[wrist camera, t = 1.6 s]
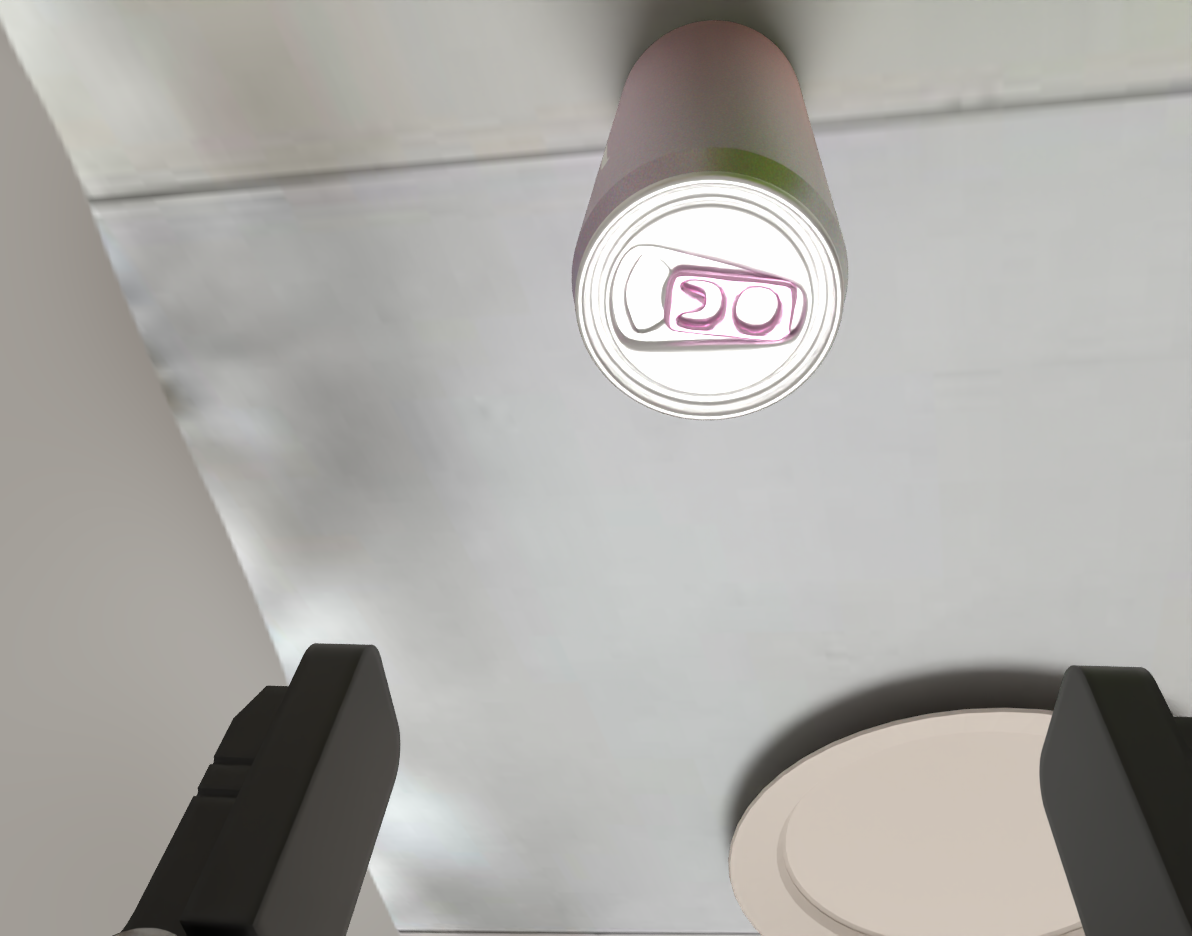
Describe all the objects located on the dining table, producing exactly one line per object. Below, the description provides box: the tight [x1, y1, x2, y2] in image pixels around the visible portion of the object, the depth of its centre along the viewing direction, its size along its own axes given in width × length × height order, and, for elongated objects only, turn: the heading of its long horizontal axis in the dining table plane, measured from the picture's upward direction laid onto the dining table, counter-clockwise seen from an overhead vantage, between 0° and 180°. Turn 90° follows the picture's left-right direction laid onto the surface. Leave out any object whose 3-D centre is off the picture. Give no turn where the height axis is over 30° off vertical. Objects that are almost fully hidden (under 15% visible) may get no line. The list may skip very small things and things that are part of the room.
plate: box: [728, 708, 1085, 936], centre depth 52 cm, size 26×26×2 cm
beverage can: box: [572, 20, 848, 420], centre depth 27 cm, size 6×6×15 cm
